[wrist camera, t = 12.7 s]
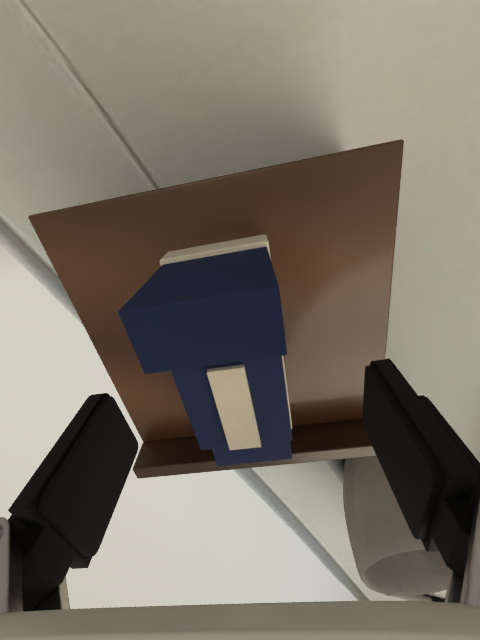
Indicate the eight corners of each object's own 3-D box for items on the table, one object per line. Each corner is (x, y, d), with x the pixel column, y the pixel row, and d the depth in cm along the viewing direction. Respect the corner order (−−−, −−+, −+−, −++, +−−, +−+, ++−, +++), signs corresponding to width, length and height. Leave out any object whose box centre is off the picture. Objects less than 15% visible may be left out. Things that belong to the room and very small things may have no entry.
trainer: (167, 251, 13) (110, 305, 7) (266, 233, 12) (282, 277, 7) (218, 418, 18) (206, 522, 12) (289, 410, 17) (308, 514, 12)
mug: (318, 448, 29) (348, 560, 21) (402, 426, 27) (473, 538, 19) (346, 506, 34) (380, 614, 26) (419, 490, 32) (481, 601, 24)
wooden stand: (101, 202, 18) (-12, 222, 10) (345, 153, 17) (438, 130, 9) (171, 384, 25) (137, 479, 17) (344, 362, 24) (394, 454, 16)
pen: (380, 581, 44) (384, 592, 43) (455, 601, 47) (460, 611, 46) (375, 584, 45) (378, 595, 44) (449, 603, 48) (454, 614, 47)
